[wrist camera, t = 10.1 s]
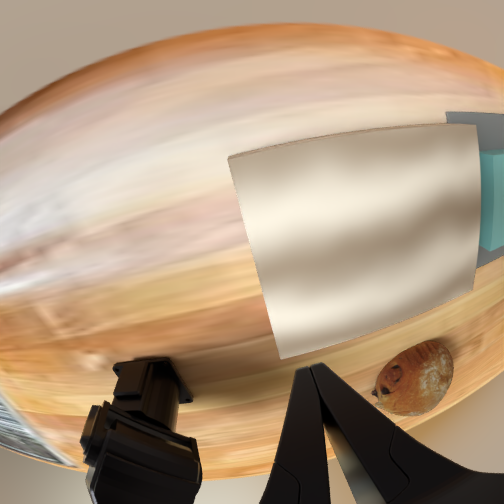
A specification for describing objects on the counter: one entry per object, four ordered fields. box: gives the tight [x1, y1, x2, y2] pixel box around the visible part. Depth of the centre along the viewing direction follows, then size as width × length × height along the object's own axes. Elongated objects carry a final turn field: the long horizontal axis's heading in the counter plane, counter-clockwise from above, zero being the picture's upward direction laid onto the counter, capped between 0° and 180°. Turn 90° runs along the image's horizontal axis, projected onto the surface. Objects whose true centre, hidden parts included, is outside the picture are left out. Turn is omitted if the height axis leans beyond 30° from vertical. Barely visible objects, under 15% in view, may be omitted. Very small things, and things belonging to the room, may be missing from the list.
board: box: [228, 123, 481, 360], centre depth 18 cm, size 14×18×4 cm
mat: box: [446, 112, 504, 269], centre depth 20 cm, size 16×14×1 cm
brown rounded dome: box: [371, 341, 454, 416], centre depth 26 cm, size 10×10×8 cm
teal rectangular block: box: [479, 149, 504, 251], centre depth 18 cm, size 9×6×2 cm, turn 14°
